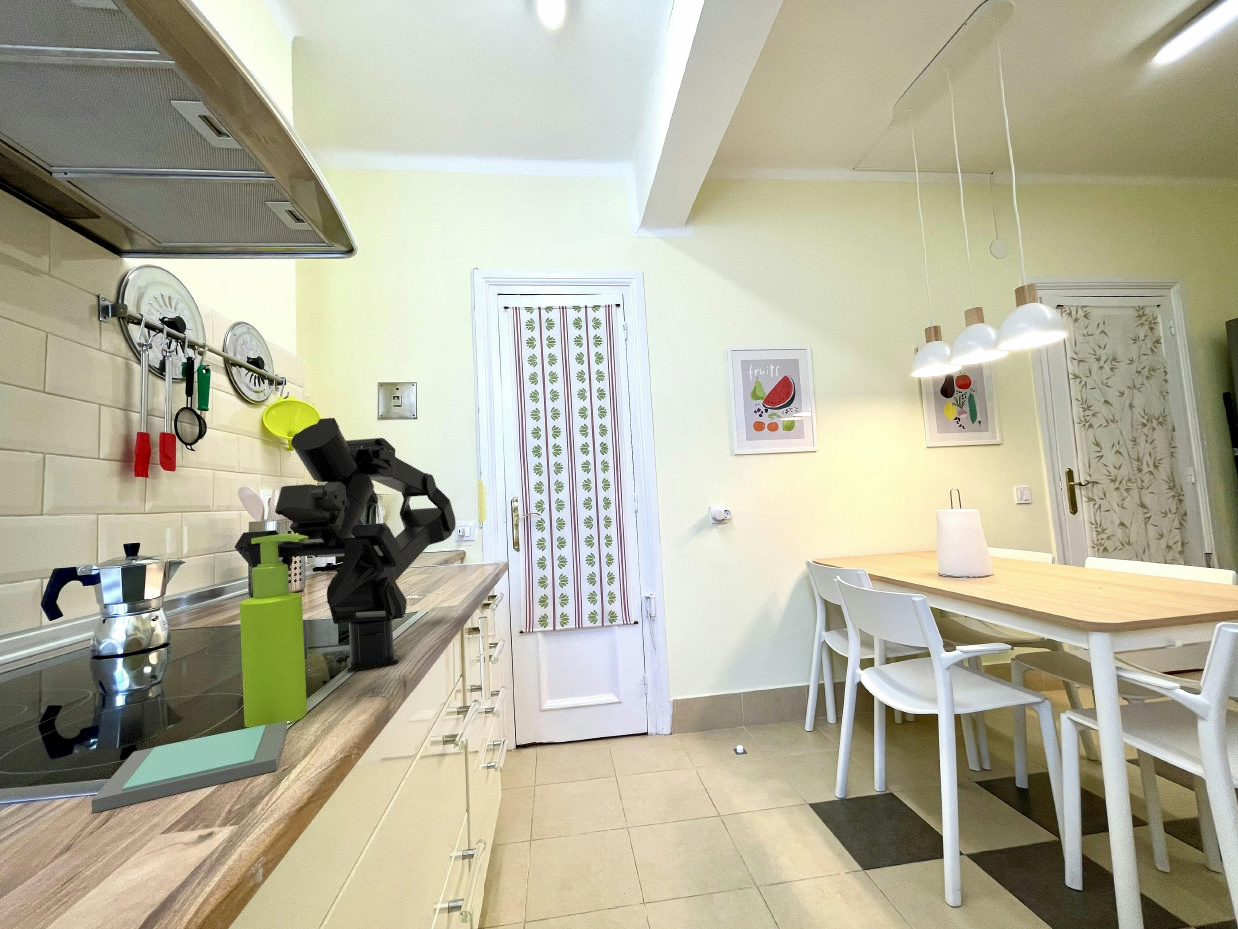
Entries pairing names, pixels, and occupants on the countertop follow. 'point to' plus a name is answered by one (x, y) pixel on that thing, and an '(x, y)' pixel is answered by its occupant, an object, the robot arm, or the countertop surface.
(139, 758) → the board
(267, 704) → the soap dispenser
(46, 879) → the countertop surface
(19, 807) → the countertop surface
